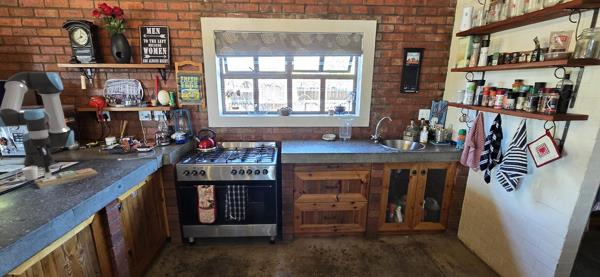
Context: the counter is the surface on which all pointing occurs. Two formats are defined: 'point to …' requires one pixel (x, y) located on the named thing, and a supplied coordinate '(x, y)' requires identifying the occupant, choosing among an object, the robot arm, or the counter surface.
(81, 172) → the tile
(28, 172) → the cup
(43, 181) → the tile
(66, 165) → the counter surface
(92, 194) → the counter surface
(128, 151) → the figurine
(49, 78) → the robot arm
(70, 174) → the tile
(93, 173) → the board
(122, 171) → the counter surface
